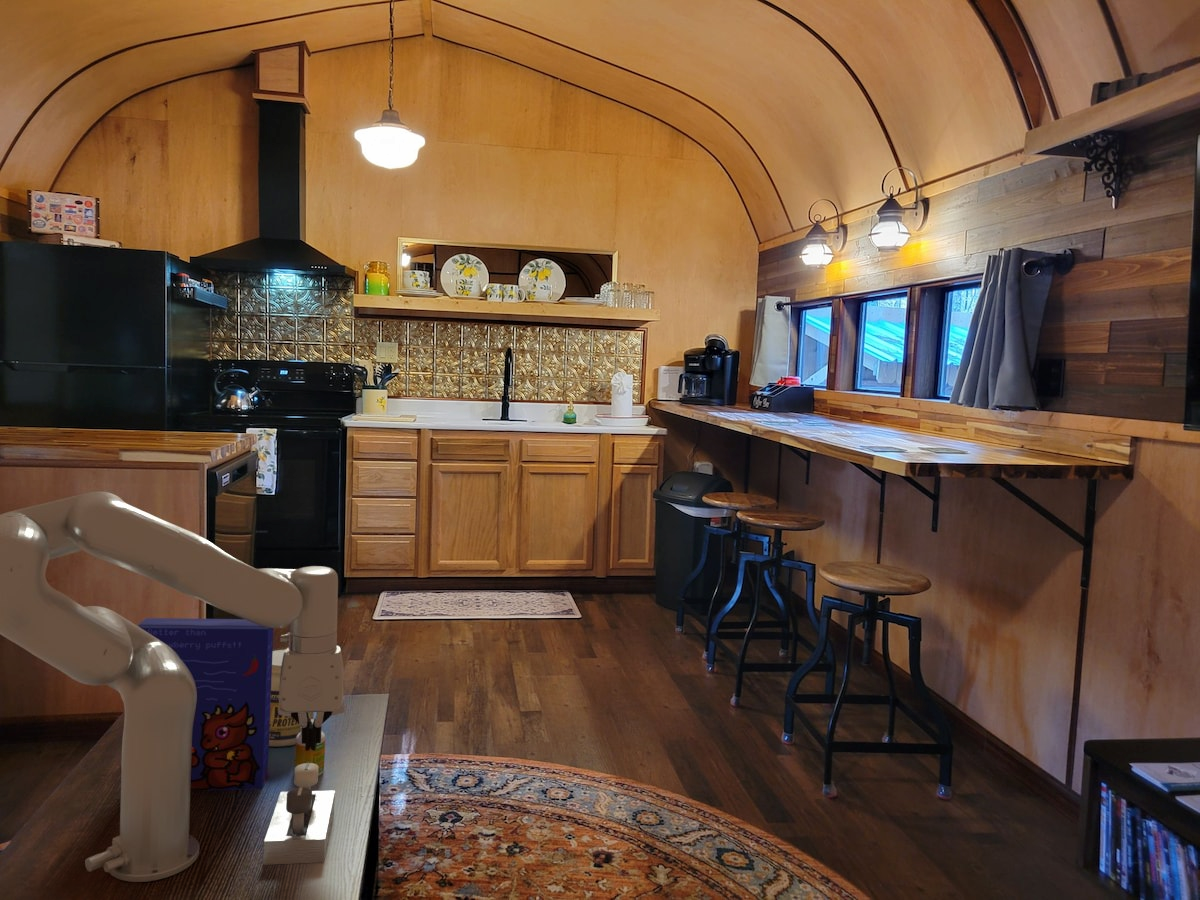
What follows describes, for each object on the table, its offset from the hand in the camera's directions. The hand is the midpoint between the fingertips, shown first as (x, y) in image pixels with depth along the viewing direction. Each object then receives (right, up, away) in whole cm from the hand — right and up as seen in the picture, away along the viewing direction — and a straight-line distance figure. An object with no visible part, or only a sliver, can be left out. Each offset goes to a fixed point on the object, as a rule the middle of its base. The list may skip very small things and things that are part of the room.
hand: (311, 746), depth 147 cm
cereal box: (-24, -11, +12) cm, 29 cm away
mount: (-1, -14, -4) cm, 14 cm away
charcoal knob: (+1, -11, -8) cm, 14 cm away
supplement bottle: (-7, -12, +19) cm, 23 cm away
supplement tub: (-17, -10, +34) cm, 39 cm away
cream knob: (-1, -10, 0) cm, 10 cm away
